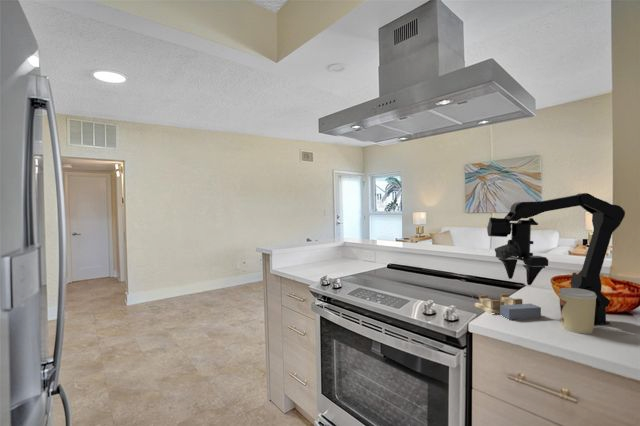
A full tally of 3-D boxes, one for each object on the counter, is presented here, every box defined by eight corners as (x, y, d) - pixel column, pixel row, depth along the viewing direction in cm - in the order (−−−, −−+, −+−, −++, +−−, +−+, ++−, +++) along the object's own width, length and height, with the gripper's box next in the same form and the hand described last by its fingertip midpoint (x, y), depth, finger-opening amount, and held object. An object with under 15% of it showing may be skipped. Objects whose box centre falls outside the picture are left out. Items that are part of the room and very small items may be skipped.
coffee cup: (561, 321, 108) (561, 286, 108) (598, 328, 101) (598, 290, 101) (556, 329, 101) (555, 291, 101) (594, 337, 95) (594, 297, 94)
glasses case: (540, 318, 111) (540, 307, 111) (509, 320, 110) (509, 309, 110) (530, 314, 116) (530, 303, 116) (500, 316, 114) (500, 305, 114)
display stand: (527, 312, 118) (527, 299, 118) (491, 314, 116) (491, 302, 116) (507, 304, 128) (507, 292, 128) (475, 306, 126) (474, 294, 126)
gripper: (483, 234, 121) (481, 275, 122) (518, 240, 103) (516, 288, 103) (510, 235, 122) (509, 275, 123) (550, 240, 104) (548, 288, 104)
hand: (519, 281), depth 113 cm, fingers open, 9 cm apart
